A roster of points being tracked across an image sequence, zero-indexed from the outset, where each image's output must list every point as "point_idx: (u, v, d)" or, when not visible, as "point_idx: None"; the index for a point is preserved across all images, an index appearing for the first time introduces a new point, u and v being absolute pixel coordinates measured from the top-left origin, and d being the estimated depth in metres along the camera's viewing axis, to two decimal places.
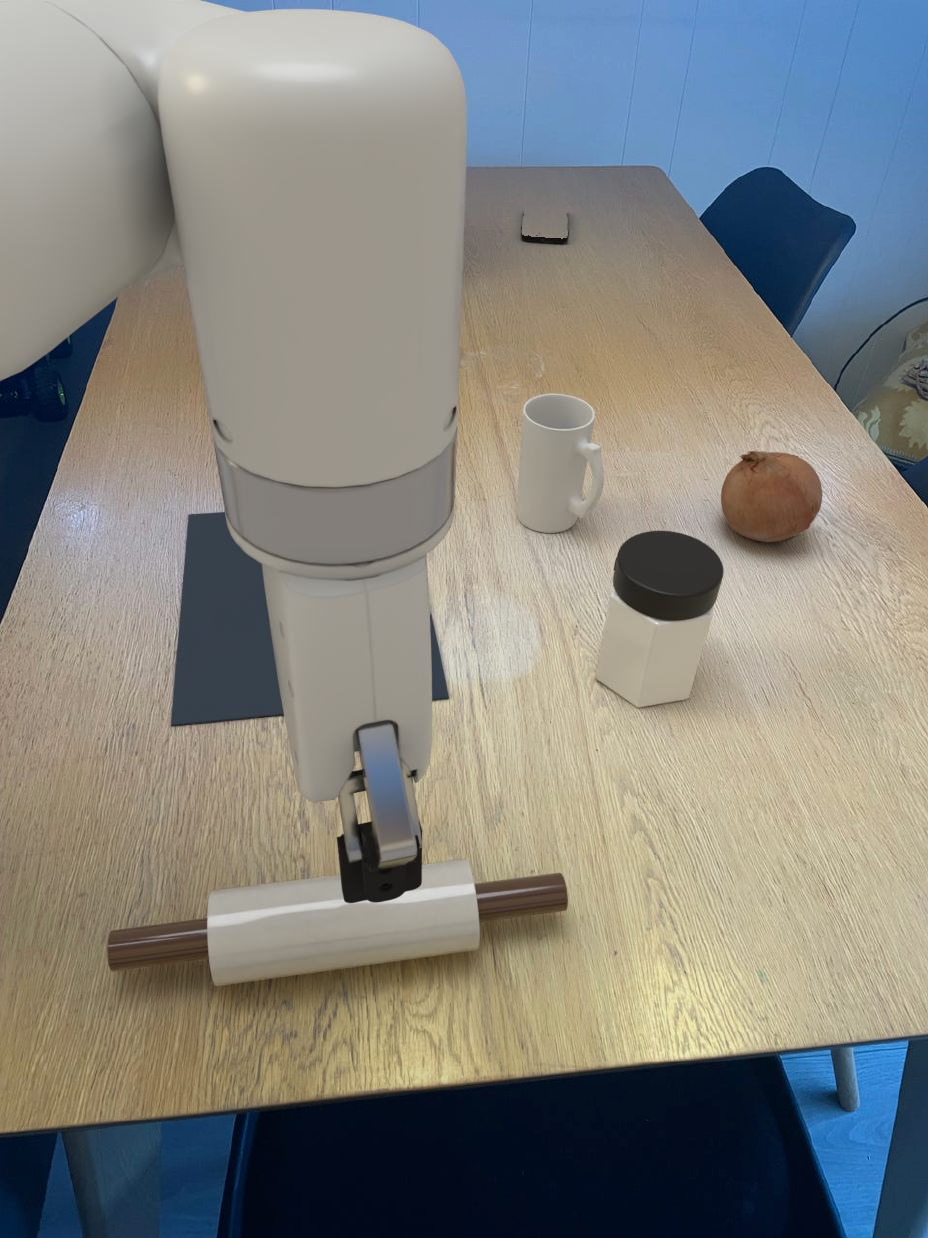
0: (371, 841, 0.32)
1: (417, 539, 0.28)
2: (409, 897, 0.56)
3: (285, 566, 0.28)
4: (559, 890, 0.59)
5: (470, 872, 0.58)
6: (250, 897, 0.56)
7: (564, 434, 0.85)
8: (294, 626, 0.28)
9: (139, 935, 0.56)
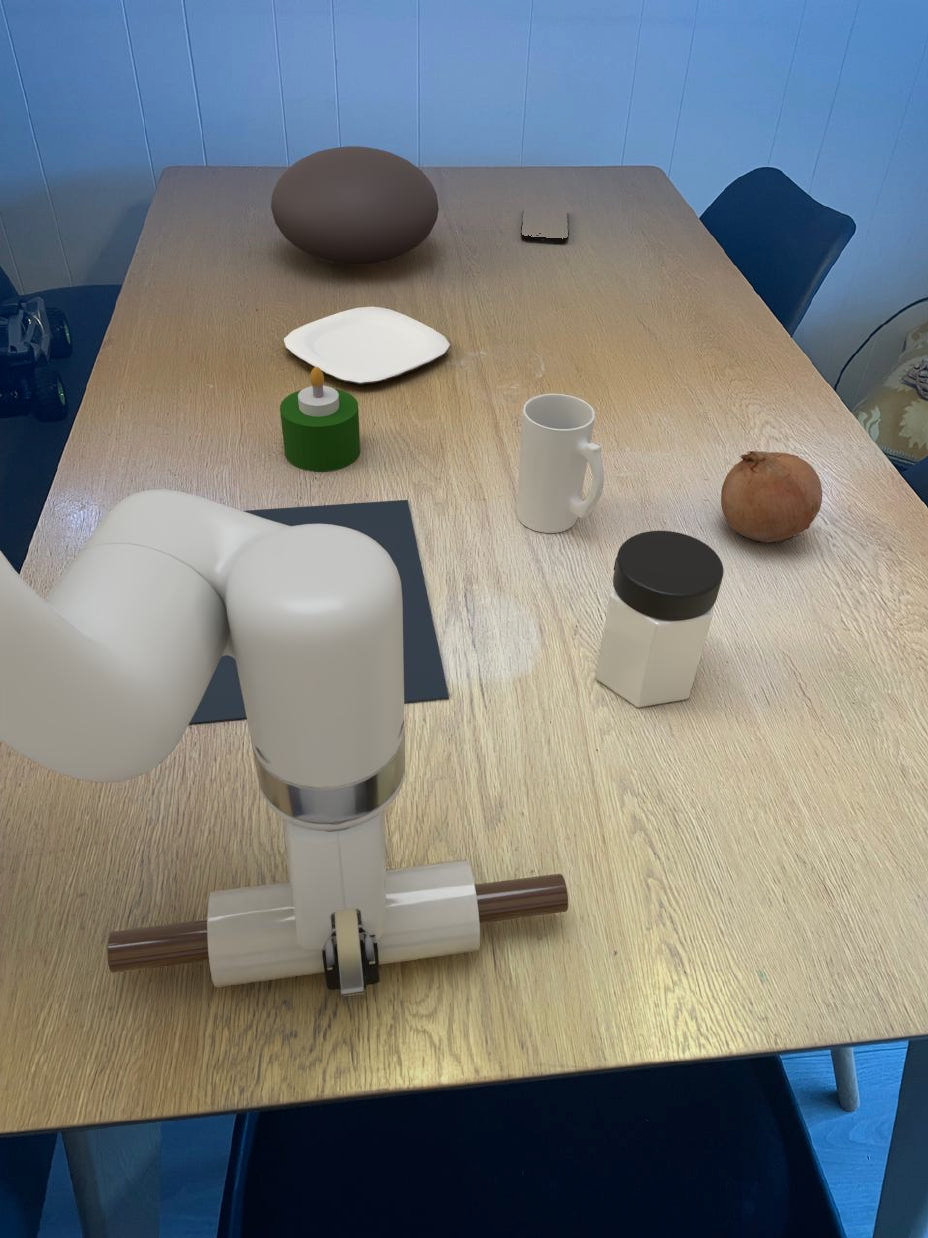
0: (338, 962, 0.51)
1: (373, 807, 0.45)
2: (409, 899, 0.56)
3: (290, 819, 0.45)
4: (559, 892, 0.59)
5: (471, 874, 0.58)
6: (250, 899, 0.56)
7: (564, 434, 0.85)
8: (294, 857, 0.45)
9: (139, 937, 0.55)
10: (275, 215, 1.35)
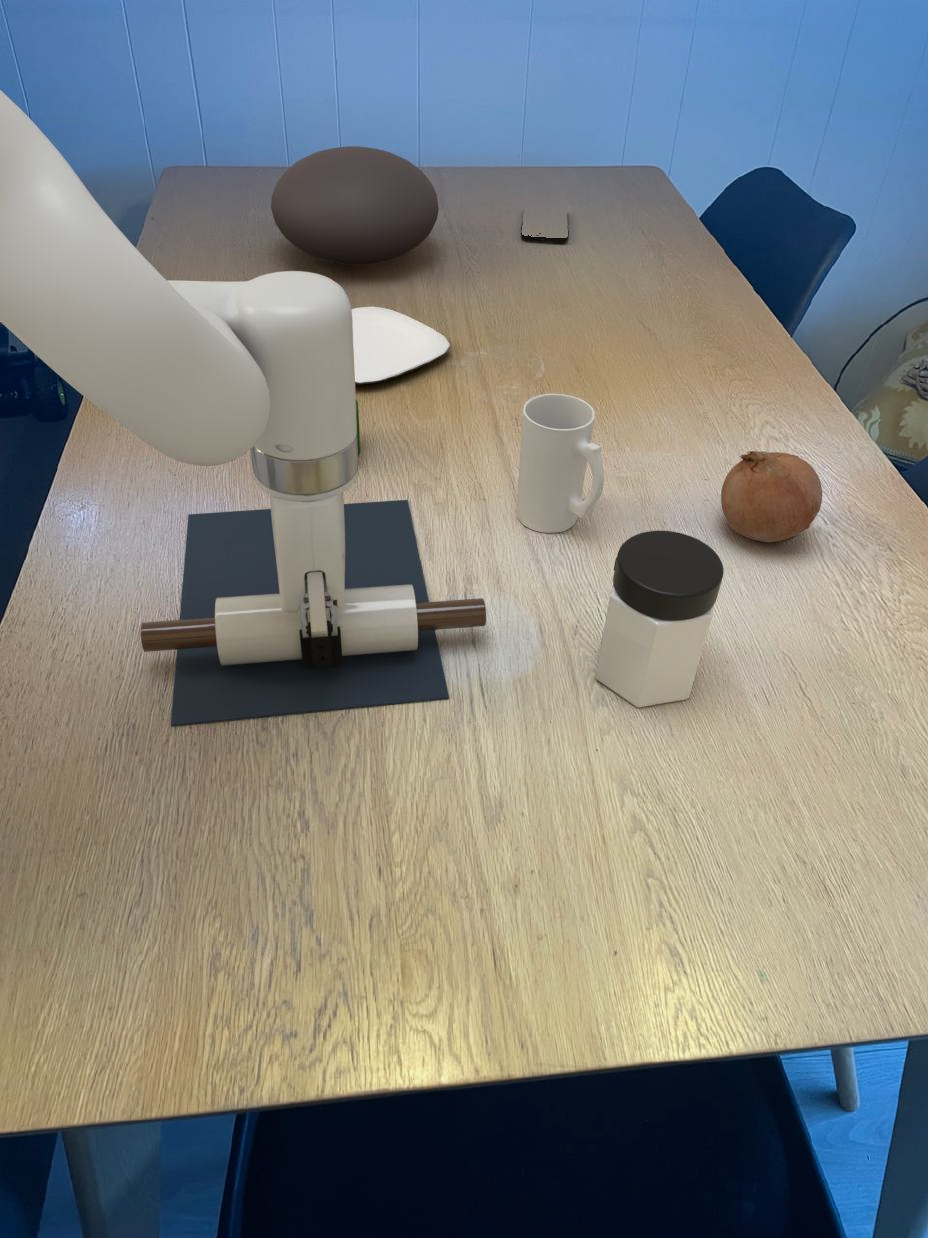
0: None
1: (334, 486, 0.65)
2: (365, 602, 0.76)
3: (275, 494, 0.65)
4: (479, 607, 0.78)
5: (412, 588, 0.77)
6: (247, 599, 0.75)
7: (564, 434, 0.85)
8: (277, 520, 0.65)
9: (164, 624, 0.75)
10: (275, 215, 1.35)
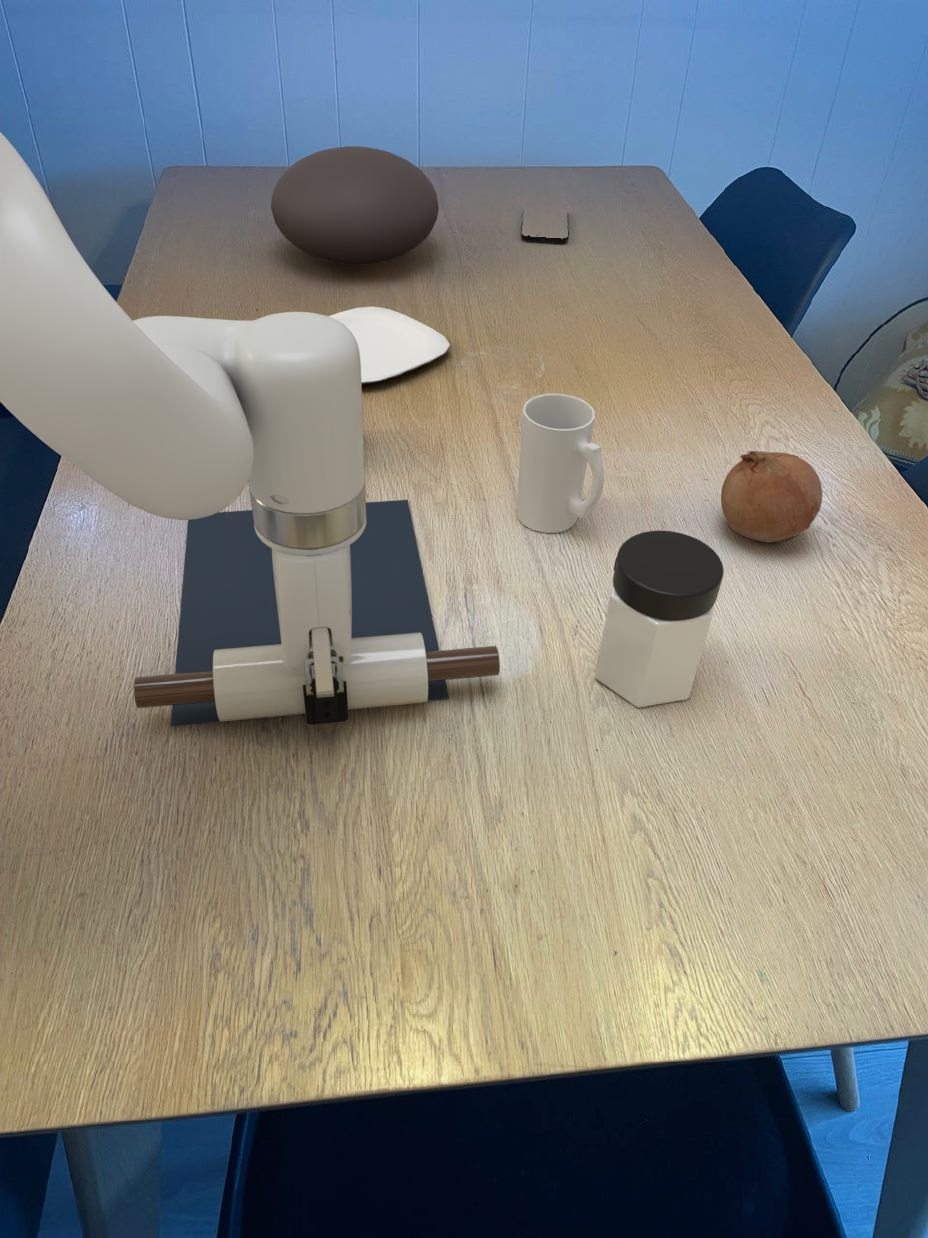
0: (315, 680, 0.66)
1: (340, 539, 0.60)
2: (372, 653, 0.71)
3: (278, 548, 0.60)
4: (493, 656, 0.74)
5: (421, 638, 0.73)
6: (246, 651, 0.71)
7: (564, 434, 0.85)
8: (280, 576, 0.60)
9: (159, 679, 0.70)
10: (275, 215, 1.35)
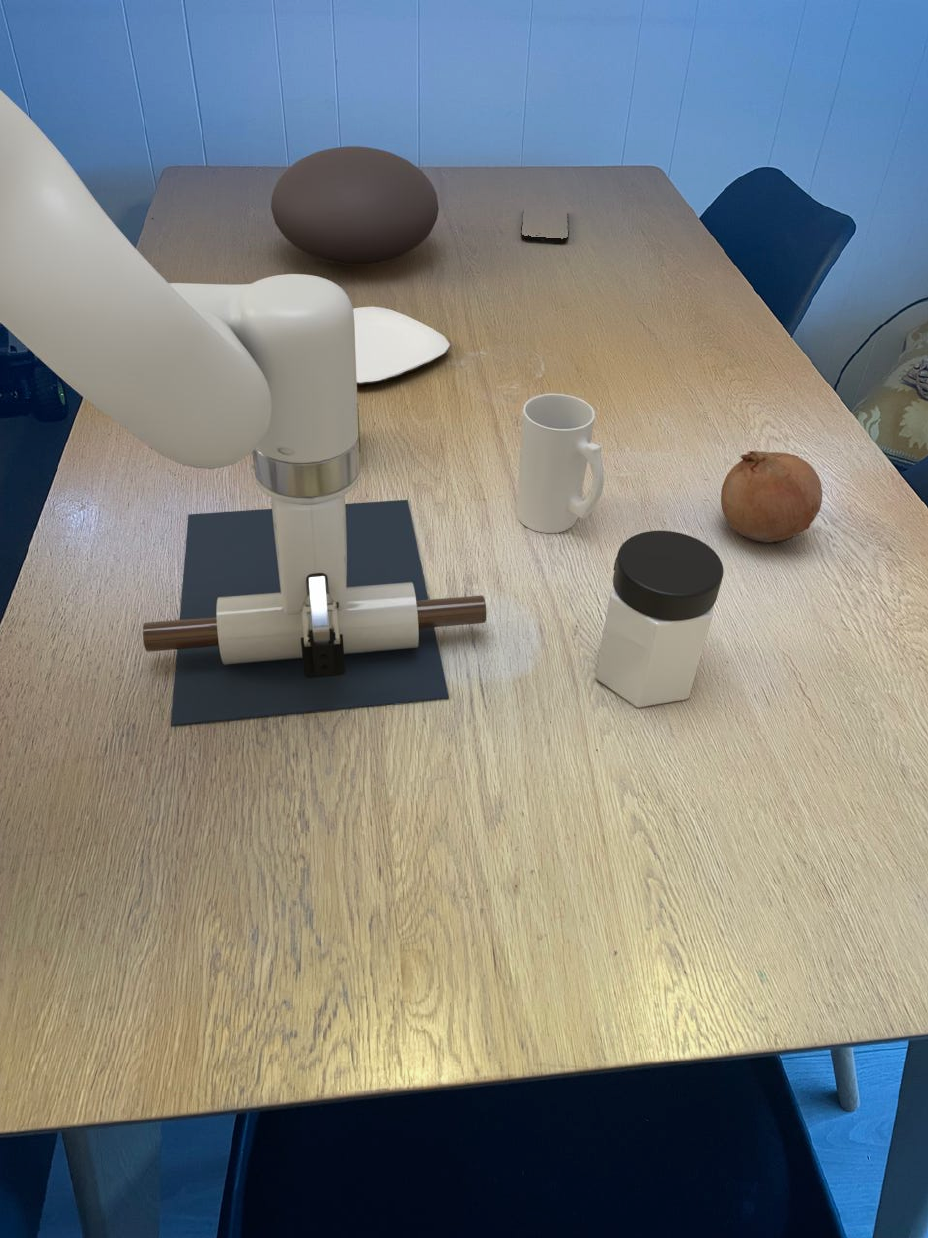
0: (312, 631, 0.68)
1: (336, 489, 0.65)
2: (365, 595, 0.76)
3: (277, 497, 0.65)
4: (479, 602, 0.79)
5: (411, 584, 0.78)
6: (248, 596, 0.76)
7: (564, 434, 0.85)
8: (279, 523, 0.65)
9: (166, 622, 0.75)
10: (275, 215, 1.35)
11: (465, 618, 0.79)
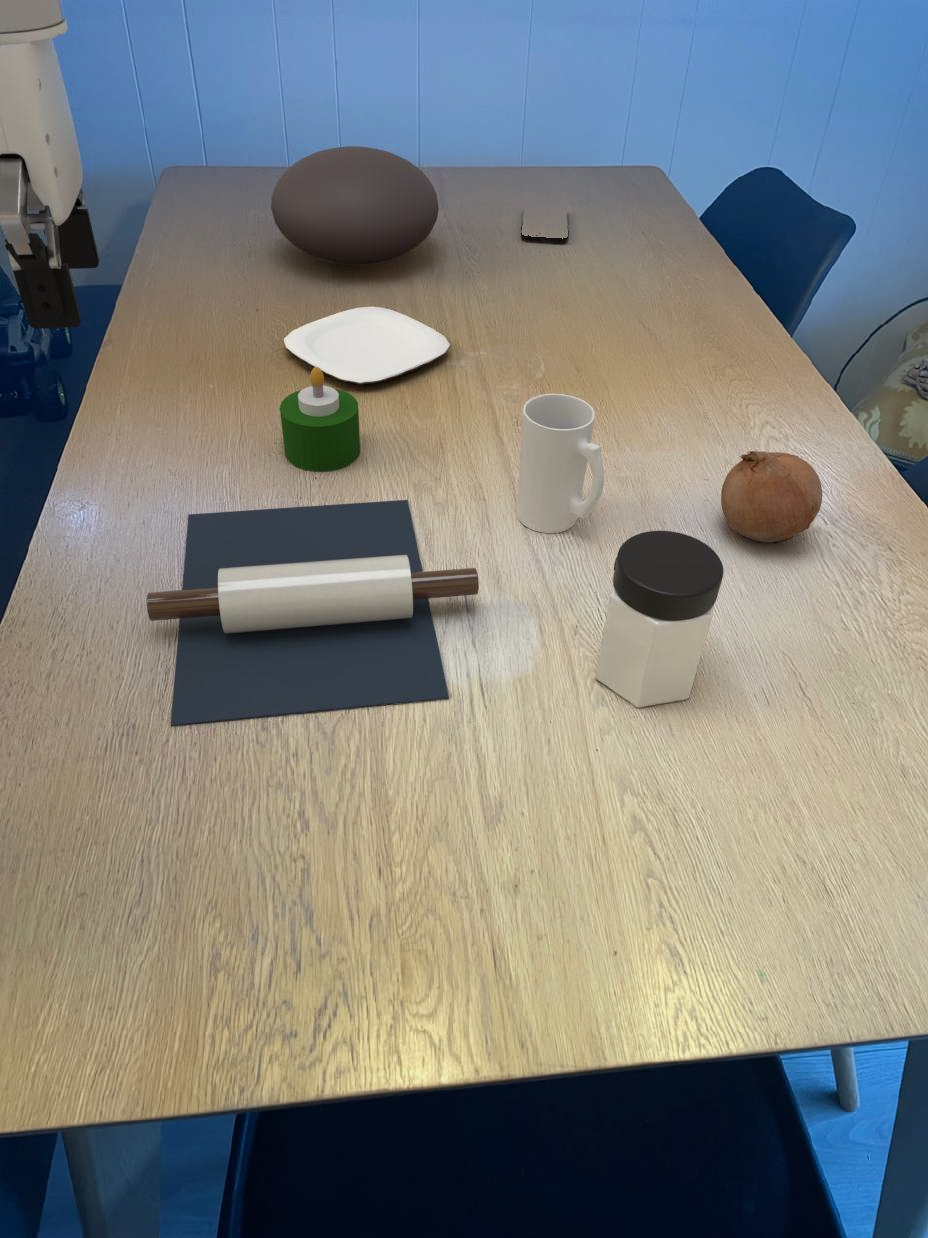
0: None
1: (18, 26, 0.51)
2: None
3: None
4: None
5: None
6: None
7: (564, 434, 0.85)
8: None
9: None
10: (275, 215, 1.35)
11: (456, 573, 0.81)
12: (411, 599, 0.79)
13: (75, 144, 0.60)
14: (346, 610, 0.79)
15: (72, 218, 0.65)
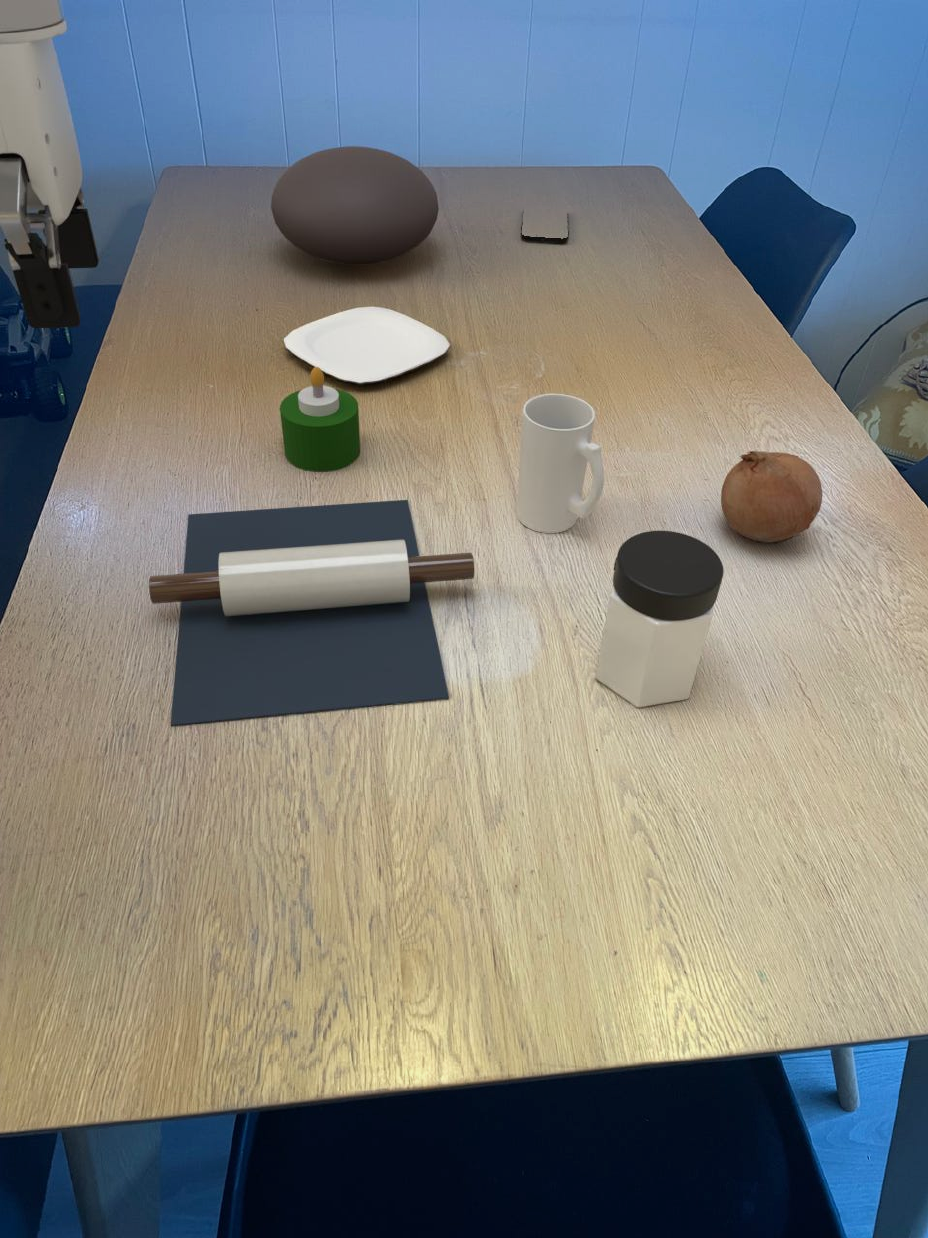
0: None
1: (17, 25, 0.51)
2: None
3: None
4: None
5: None
6: None
7: (564, 434, 0.85)
8: None
9: None
10: (275, 215, 1.35)
11: (451, 554, 0.84)
12: (406, 558, 0.81)
13: (74, 144, 0.60)
14: (342, 569, 0.80)
15: (71, 218, 0.65)
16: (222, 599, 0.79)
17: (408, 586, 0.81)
